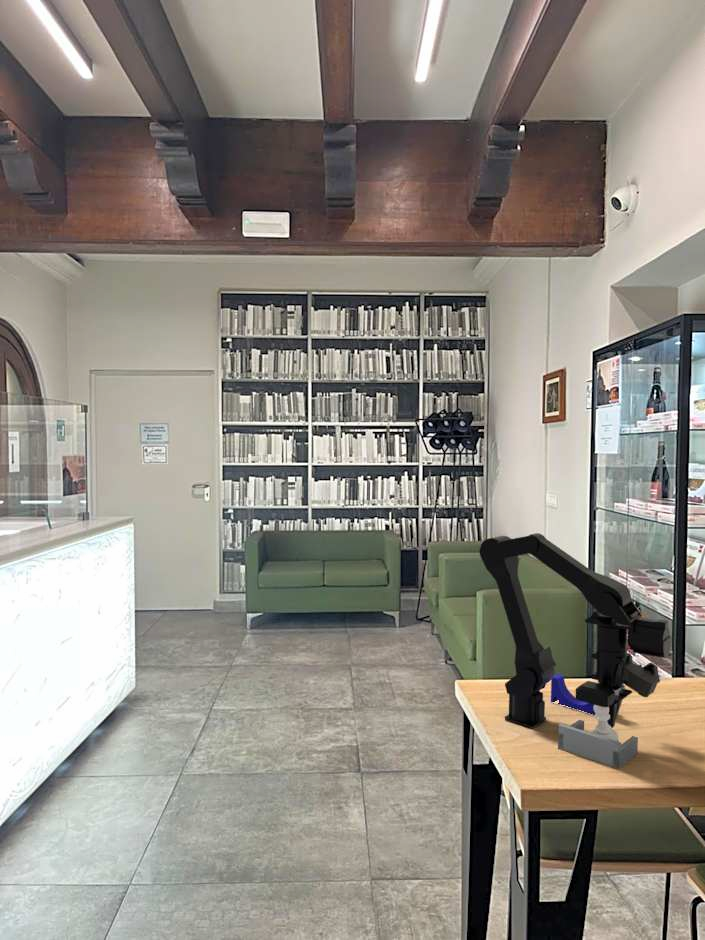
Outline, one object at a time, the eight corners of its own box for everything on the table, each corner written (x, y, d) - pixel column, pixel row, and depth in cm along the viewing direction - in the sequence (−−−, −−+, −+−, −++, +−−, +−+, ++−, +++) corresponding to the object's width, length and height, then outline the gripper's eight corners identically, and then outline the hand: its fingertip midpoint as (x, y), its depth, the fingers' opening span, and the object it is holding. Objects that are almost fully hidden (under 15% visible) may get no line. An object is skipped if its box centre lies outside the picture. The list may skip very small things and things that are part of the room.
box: (557, 748, 129) (558, 725, 129) (579, 734, 136) (579, 712, 136) (617, 768, 121) (618, 744, 121) (637, 753, 128) (638, 729, 128)
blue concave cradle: (611, 713, 148) (612, 686, 148) (602, 718, 145) (603, 691, 144) (560, 698, 156) (560, 672, 156) (550, 703, 153) (551, 677, 153)
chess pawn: (586, 741, 132) (580, 702, 130) (605, 730, 134) (600, 691, 131) (605, 755, 127) (600, 714, 125) (625, 743, 129) (620, 703, 127)
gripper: (634, 669, 119) (633, 756, 120) (671, 645, 133) (670, 724, 133) (574, 655, 127) (573, 737, 127) (615, 635, 140) (614, 709, 141)
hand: (610, 727), depth 132 cm, fingers closed
